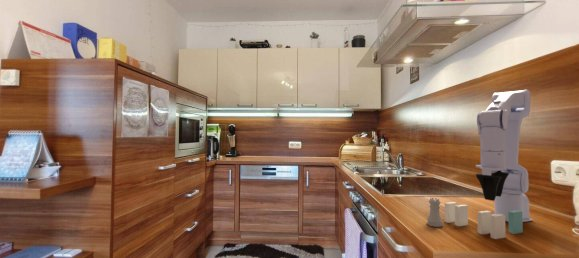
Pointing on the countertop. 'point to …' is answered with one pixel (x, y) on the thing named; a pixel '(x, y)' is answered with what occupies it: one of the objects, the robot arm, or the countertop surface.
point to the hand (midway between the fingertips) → (493, 197)
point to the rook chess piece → (434, 213)
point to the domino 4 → (497, 226)
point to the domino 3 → (484, 222)
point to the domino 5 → (515, 222)
